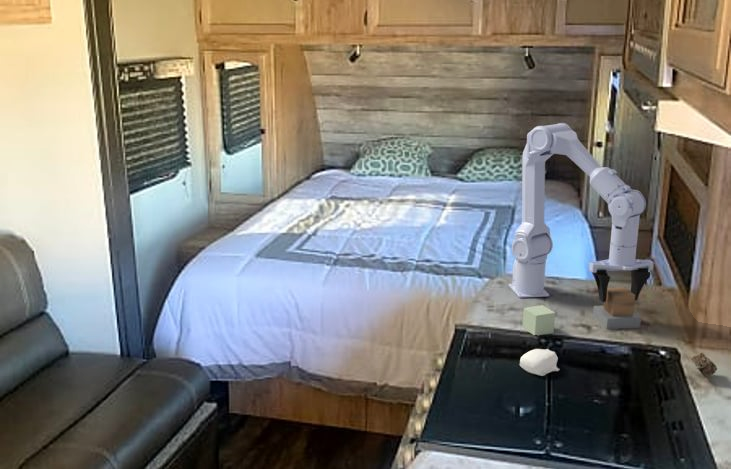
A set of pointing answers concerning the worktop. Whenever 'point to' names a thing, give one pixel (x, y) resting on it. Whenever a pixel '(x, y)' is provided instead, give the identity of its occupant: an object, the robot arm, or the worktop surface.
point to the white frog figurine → (539, 361)
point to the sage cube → (538, 320)
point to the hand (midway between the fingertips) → (618, 299)
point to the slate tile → (616, 319)
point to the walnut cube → (619, 302)
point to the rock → (704, 365)
